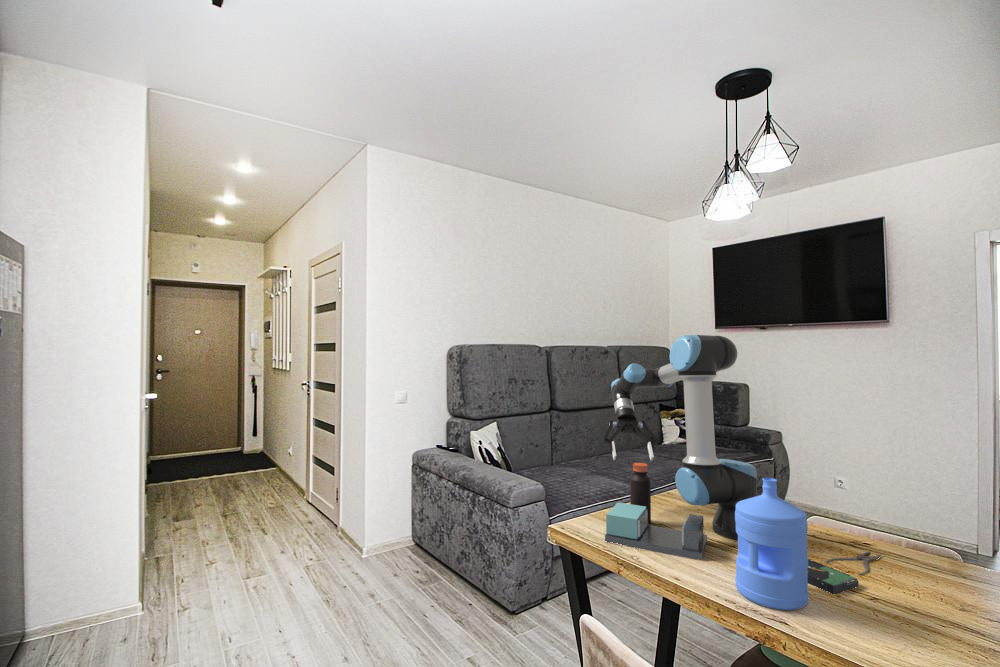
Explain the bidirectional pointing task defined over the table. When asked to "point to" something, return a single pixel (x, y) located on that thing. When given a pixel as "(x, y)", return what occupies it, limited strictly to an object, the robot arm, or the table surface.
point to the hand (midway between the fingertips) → (633, 458)
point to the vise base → (670, 539)
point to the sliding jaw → (626, 520)
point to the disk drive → (829, 578)
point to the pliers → (859, 557)
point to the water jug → (772, 550)
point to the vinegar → (641, 488)
